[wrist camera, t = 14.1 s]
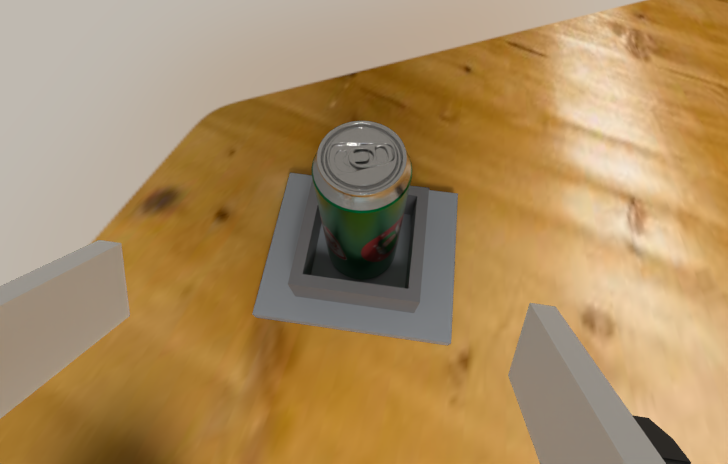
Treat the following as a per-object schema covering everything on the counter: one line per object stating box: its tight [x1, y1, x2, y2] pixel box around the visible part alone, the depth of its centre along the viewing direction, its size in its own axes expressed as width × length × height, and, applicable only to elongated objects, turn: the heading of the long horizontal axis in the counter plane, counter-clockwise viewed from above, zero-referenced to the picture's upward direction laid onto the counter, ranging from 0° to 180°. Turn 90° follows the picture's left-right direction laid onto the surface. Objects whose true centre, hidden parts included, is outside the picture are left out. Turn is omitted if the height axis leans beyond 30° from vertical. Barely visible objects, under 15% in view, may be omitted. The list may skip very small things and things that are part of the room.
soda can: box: [312, 121, 412, 280], centre depth 24 cm, size 5×5×12 cm
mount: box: [253, 173, 458, 345], centre depth 28 cm, size 14×12×4 cm
